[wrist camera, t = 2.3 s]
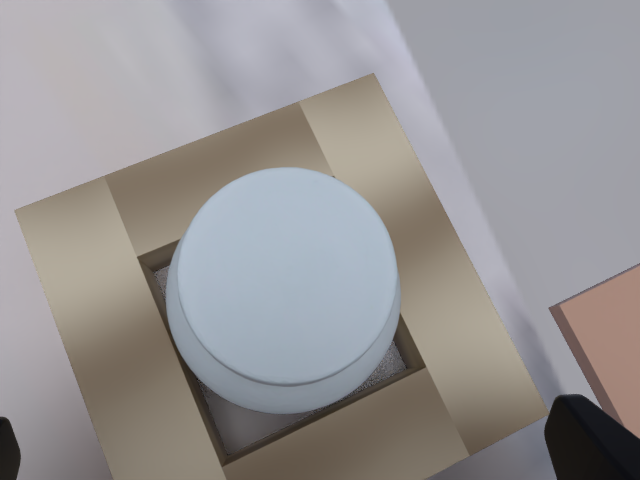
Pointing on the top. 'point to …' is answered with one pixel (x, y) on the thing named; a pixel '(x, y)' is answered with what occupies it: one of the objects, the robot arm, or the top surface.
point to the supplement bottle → (284, 291)
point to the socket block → (179, 380)
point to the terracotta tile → (608, 342)
